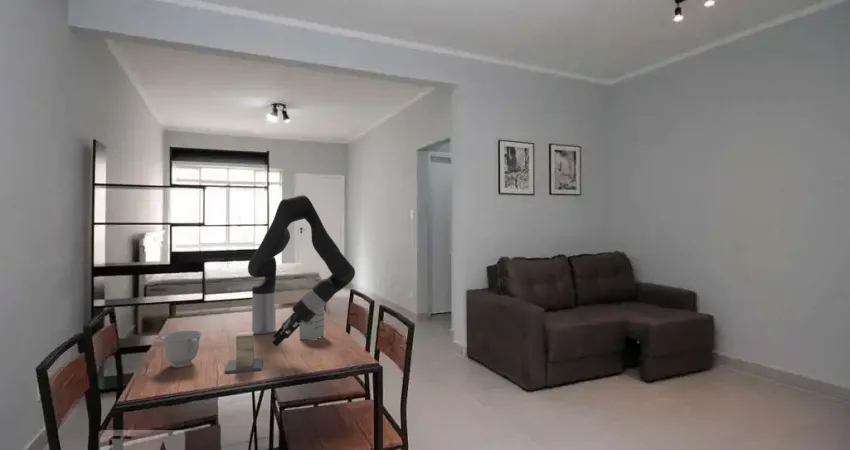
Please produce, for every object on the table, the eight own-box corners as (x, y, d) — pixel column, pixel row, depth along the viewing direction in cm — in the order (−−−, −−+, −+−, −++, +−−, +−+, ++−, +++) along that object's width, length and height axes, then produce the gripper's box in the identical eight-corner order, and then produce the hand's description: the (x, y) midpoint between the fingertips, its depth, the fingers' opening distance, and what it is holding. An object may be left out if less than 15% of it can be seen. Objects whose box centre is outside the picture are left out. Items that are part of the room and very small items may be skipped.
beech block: (237, 362, 149) (237, 332, 149) (253, 360, 150) (253, 331, 150) (236, 367, 144) (236, 336, 144) (252, 365, 146) (252, 335, 146)
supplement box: (298, 339, 181) (298, 308, 181) (309, 335, 188) (310, 305, 188) (313, 341, 178) (313, 310, 178) (324, 336, 185) (324, 306, 185)
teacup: (178, 375, 139) (178, 343, 138) (153, 366, 146) (153, 336, 146) (214, 364, 149) (214, 335, 149) (189, 357, 157) (189, 328, 157)
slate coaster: (228, 362, 151) (228, 360, 151) (263, 359, 154) (263, 357, 154) (224, 373, 140) (224, 370, 140) (261, 370, 144) (261, 367, 144)
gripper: (301, 295, 159) (267, 329, 156) (302, 302, 145) (265, 339, 142) (316, 309, 161) (283, 342, 157) (318, 317, 147) (282, 354, 144)
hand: (274, 341), depth 150 cm, fingers open, 8 cm apart
